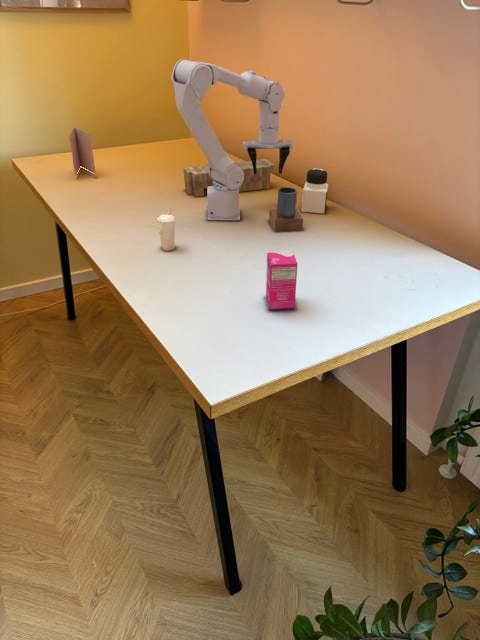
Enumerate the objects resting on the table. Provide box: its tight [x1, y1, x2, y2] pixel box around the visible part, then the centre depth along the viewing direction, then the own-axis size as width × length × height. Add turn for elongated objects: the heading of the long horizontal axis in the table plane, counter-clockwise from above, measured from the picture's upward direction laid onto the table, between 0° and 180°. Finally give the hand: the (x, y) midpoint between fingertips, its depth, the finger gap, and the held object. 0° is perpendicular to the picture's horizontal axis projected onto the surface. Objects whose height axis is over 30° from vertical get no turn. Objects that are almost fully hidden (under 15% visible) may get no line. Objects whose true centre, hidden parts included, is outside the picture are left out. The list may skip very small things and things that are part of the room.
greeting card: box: [68, 127, 97, 181], centre depth 181 cm, size 11×7×15 cm, turn 6°
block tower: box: [183, 158, 275, 198], centre depth 172 cm, size 8×8×29 cm
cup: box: [276, 186, 298, 218], centre depth 146 cm, size 5×5×7 cm
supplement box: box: [265, 250, 298, 312], centre depth 111 cm, size 6×6×12 cm
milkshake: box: [156, 207, 176, 252], centre depth 134 cm, size 5×5×10 cm
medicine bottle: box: [300, 168, 329, 215], centre depth 157 cm, size 7×7×12 cm
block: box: [268, 208, 304, 233], centre depth 149 cm, size 8×8×4 cm
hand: (267, 172), depth 157 cm, fingers open, 7 cm apart
